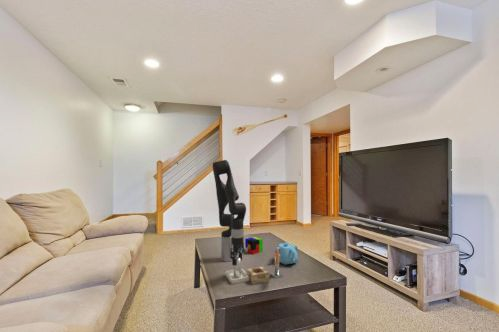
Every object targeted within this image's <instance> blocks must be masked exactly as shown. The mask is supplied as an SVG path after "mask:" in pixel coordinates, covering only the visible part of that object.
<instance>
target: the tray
mask: <svg viewBox="0 0 499 332" xmlns="http://www.w3.org/2000/svg"><path fill="white" fill-rule="evenodd" d="M225 277H226V279H228V281H229V282H230V284H231V285H235V284H240V283H241V282H242V283H247V282H251V281H250V277H249V276H248V274H247V271H245V270H244V269H243V268H241V277H240V278H234V269H231V270H226V271H225ZM246 281H247V282H246Z"/></svg>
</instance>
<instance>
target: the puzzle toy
mask: <svg viewBox="0 0 499 332" xmlns="http://www.w3.org/2000/svg"><path fill="white" fill-rule="evenodd" d="M244 239H245V243H244V252H246V253H248V254H250V255H256V254H259V253H263V252H264V251H263V244H264V243H263V239H262V238H259V237H256V236H250V237H248V238H244Z"/></svg>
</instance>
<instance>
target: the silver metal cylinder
mask: <svg viewBox="0 0 499 332" xmlns="http://www.w3.org/2000/svg"><path fill="white" fill-rule="evenodd" d="M241 269H242V260H241V258H240V257H239V256H237V257H236V265H235V266H234V265H233V270H234V278H240V277H241Z"/></svg>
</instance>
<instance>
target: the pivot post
mask: <svg viewBox="0 0 499 332" xmlns="http://www.w3.org/2000/svg"><path fill="white" fill-rule="evenodd" d="M269 275H270V276H271V277H273V279H279V278H284V274H283V273H281V272H280V264H279V265H275V264H274V272H269Z"/></svg>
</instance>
